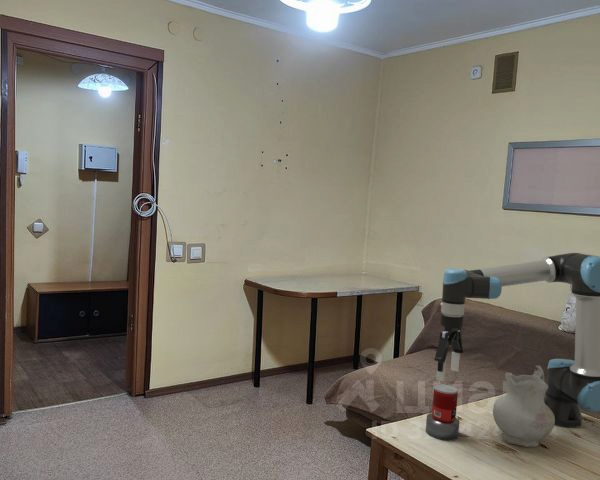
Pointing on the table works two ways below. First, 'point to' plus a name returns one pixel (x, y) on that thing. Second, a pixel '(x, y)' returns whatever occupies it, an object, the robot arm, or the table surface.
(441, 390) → the canned food
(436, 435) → the pedestal
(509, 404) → the ceramic pitcher
